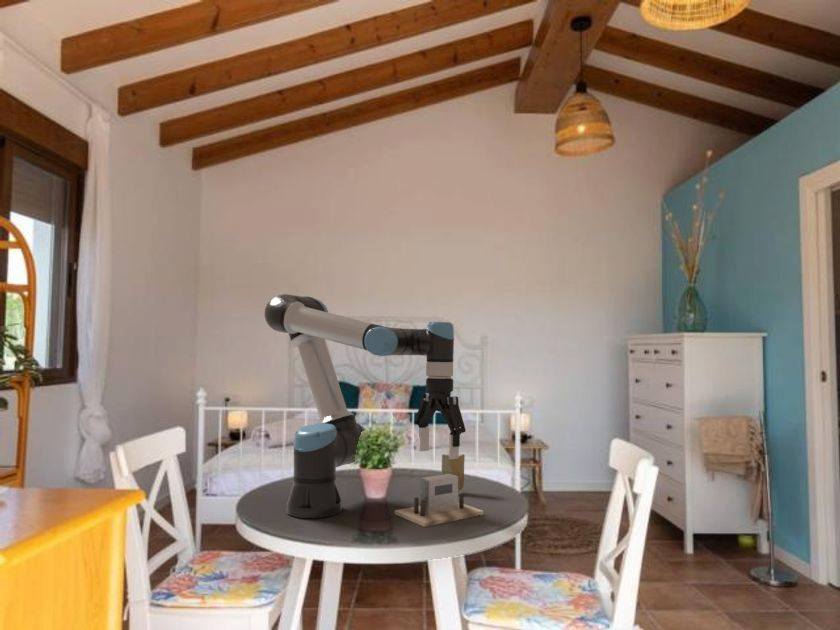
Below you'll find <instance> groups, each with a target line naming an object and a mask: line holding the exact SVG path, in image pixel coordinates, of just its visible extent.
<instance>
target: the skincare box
mask: <svg viewBox="0 0 840 630" xmlns="http://www.w3.org/2000/svg"><path fill="white" fill-rule="evenodd" d="M465 458H466V457H465V454H463V453H459V458H458V459H449V451H448V452H445V453H442V454H441V475H444V474H452V475H455V476H458V496H459V493H463V492H464V491H465V490H464V487H465V483H464V480H465ZM463 494H464V493H463Z"/></svg>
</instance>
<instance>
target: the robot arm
mask: <svg viewBox="0 0 840 630" xmlns="http://www.w3.org/2000/svg"><path fill="white" fill-rule="evenodd" d="M264 319H265V321H266V324H267V325H268V326H269V327H270V328H271V329H272V330H274V331H276V332H278V333H286V334H288V335H289V338H290V341H291V344H292V345H294V346H296V347H298V351H299V355H300V358H301V361H302V364H303V368H304V371H305V375H306V377H307V380H308V384H309V387H310V390H311V394H312V397H313V400H314V403H315V407H316V410H317V414H318V416H319V417H318V418H319V421H318V423H315V424H307V425H304V426H301V427H300V428H298V429H297V430H296V431H295V433H294V441H293V484H292V487H291V490H290V493H289V495H288V499H287V502H286V514H287V515H289V516H291V517H294V518H301V519H302V518H303V519H319V518H326V517H332V516H335V515H337V514H338V515H339V513H341V512H342V510H343V508H342V507H343V506H342V505H343V504H342V503H343V502H342V499H341V495H340V492H339V489H338V485H337V481H336V480H337V479H336V478H337V476H336V475H337V468H338V467H341V466H344V465H350V464H352V463H355V462H356V461H355V455H356V450H357V444H358V441H359V437H360V435H361V432H362V431H364V430H366V428H365V427H364V426H363V425H361V424H360V423H358V422H357V420H356V417H355V414H354V413H353V412H351V411H349V410H348V409H347V406H346V405H347V404H346V402H345V398H344V396H343V393H342V391H341V390H342V389H341V387H340V383H339V380H338V377H337V374H336V371H335V367H334V365H333V364H334V363H333V361H332V358H331V354H330V352H329V349H328V345H327V342H326V340H327V341H330V342H334V343H338V344H342V345H345V346H348V347H349V346H350V347H352V348H357V349H360V350H364V351H368V352H369V353H370V354H372V355H374V356H378V357H379V356H380V357H387V356H426V363H425V366H426V367H425V375H426V377H427V378H426V380H425V386H426V387H425V391H426V392H422V393H421V399H420V402H419V403H420V404H419V407H418V410H417V413H416V417H415V419H414V425H418V427H419V432H418V433H419V434H418V437H419V452H427V451H430V426H429V424H430V422H431V420H432V419H433V417H434V415H435V413H436V412H439V413H441V414H442V415H443V418H444V420H445V422H446V424H447V426H448V428H449V431H450V432H449V434H448V452H449V459H458V458H459V454H460V453H459V452H460V451H459V449H460V445H461V444H460V442H461V441H460V439H461V434H463V433H466V427H465V423H464V419H463V416H462V412H461V408H460V406H459V404H460V403H459V397H458V396H457V395H456V396H451V393H452V392H453V391H454V379H453V378H452V377H453V376H454V350H455V349H454V348H455V347H454V345H455V336H454V335H455V332H454V331H455V330H454V324H453V323H451V322H449V321H429V322H427V324H426V328H422V329H421V328H400V327H398V328H397V327H388V326H383V325H380V324H377V323H376V324H375V323H371V322H366V321H365V320H364V321H363V320H359V319H355V318H353V317H352V318H350V317H349V316H348V317H347V316H344V315H339V314H335V313H331V312H329V311H328V307H327V306H326V305H325V304H324V303H323V302H322V301H321V300H320V299H317V298H314V297H313V296H305V295H304V296H302V295H294V294H293V295H292V294H287V293H286V294H278V295H275V296H274V297H272V298H271V299H270V300H269V301H268V302H267V304H266V306H265V309H264Z"/></svg>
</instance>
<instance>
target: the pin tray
mask: <svg viewBox="0 0 840 630" xmlns="http://www.w3.org/2000/svg"><path fill="white" fill-rule="evenodd" d="M413 498H414V499H413V500H414V501H413V506H412V507H407V508H401V509H395V510H394V515H396V516H399V517H401V518H403V519H405V520H408V521H410V522H413V523H414V524H417V525H419V526H421V527H424V528H425V527H429V526H435V525H439V524H445V523H449V522H455V521H459V519H460V520H464V519H469V517H470V518H474V516H475V517H479V516H478V515H480V516H483V514H485V513H484V512H485V511H484V510H482V509H480V508H477V507H473V506H471V505H468V504H465V503H464V501H465V500H464V499H465V497H464V493H459V495H458V509H456V510H451V511H446V512H441V513H436V514H431V515H428V514H425V500H421V512H420V497H413Z"/></svg>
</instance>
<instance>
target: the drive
mask: <svg viewBox="0 0 840 630" xmlns="http://www.w3.org/2000/svg"><path fill="white" fill-rule="evenodd" d="M419 480H420V481H419V506H420V512H421V500H425V514H428V515H431V514H436V513H441V512H446V511H451V510H456V509H458V502H459V495H458V476H455V475H452V474H444V475H442V474H437V475H431V476H425V477H420V479H419Z"/></svg>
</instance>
